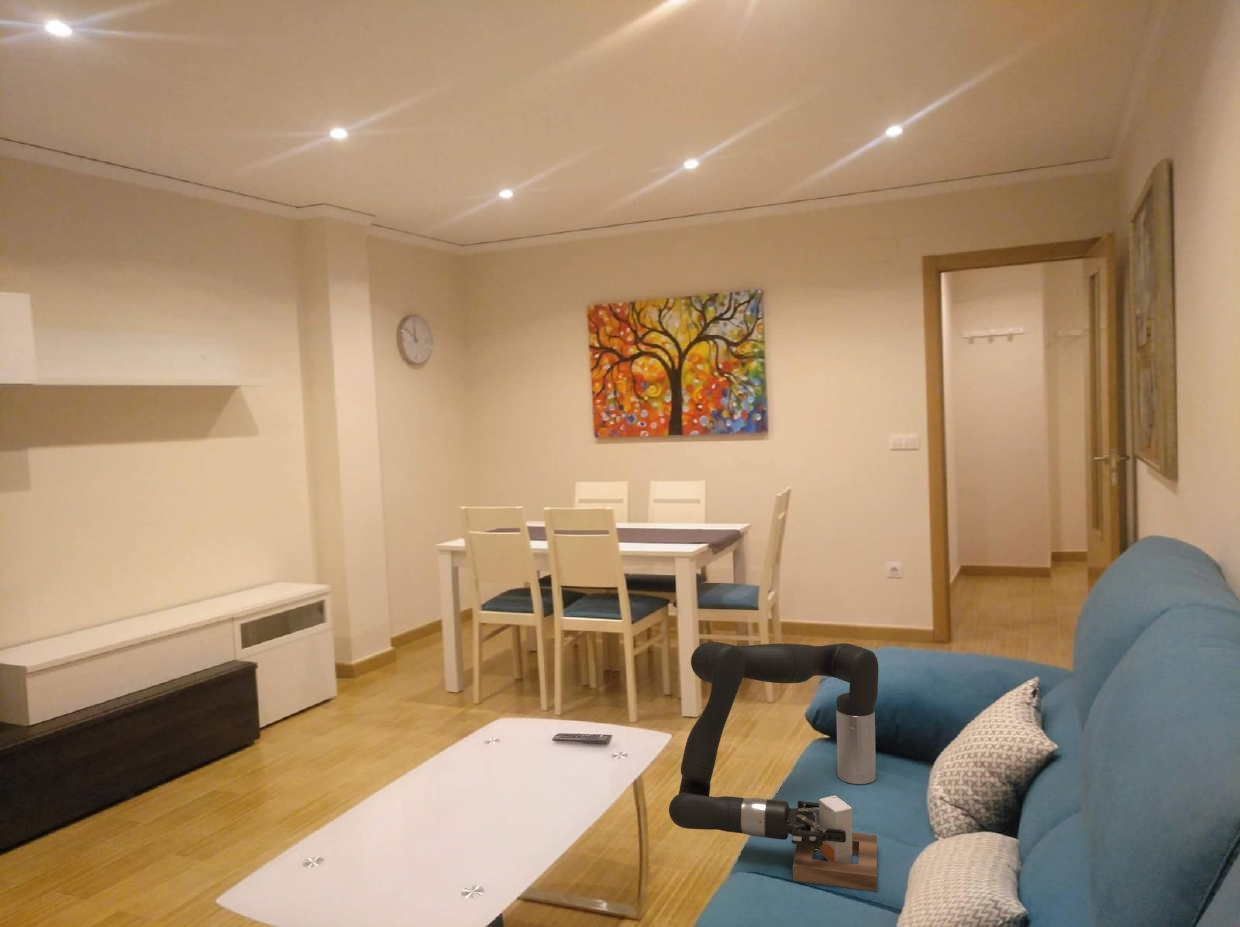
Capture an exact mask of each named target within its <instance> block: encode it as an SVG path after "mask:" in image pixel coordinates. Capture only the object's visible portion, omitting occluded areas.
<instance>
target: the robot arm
mask: <svg viewBox="0 0 1240 927" xmlns="http://www.w3.org/2000/svg"><path fill="white" fill-rule="evenodd" d="M690 665H691V670H692V671H693V673H694V674H695V676H696V677H697V678H699V679H700V680H702V681H703V682H705V683H709V684H711V689H710V693H709V697H708V701H707V703H706V705H705V707H704V709H703V711H702V712H701V715H700V716H699V718H698V719H697V720H696V722H695V724H694V725H693V726H692V729H691V730H690V732H689V733H688V734H689V735H688V737H687V739H686V743H685V746H684V752H683V756H682V761H681V765H680V775H681V781H680V785H679V790H678V794H677V795H674V797H673V798H672V800H670V803H669V807H668V814H669V816H670V819H671V821H672V822H673V823H674V824H675V825H676V826H678V827H680V828H683V829H689V830H703V831H705V830H706V831H707V830H711V831H712V830H713V831H714V830H715V831H723V832H727V833H736V834H743V835H748V836H750V837H751V836H752V837H757V838H758V837H759V838H765V839H773V840H775V839H776V840H782V841H787V839H788V838H789V835H791V844H793V845H797V844H798V845H808V846H817V847H821V846H822V843H824V842H826V841H834V842H842V843H844V842H846V832H845V831H844V830H835V829H827V831H826V829H825V828H823V827H820V826H819V802H812V801H805V800H804V801H803V800H798V801H797V802H796V803H797V805H796V806H797V807H794V808H793V807H790V804H789V801H786V800H780V799H778V800H777V799H771V798H770V799H769V798H760V797H739V796H738V797H737V796H729V795H727V796H726V795H725V796H710V793H711V782H712V777H713V775H714V774H713V772H714V769H715V764H716V761H717V756H718V752H719V751H718V750H719V746H720V743H721V740H722V739H721V738H722V736H723V732H724V728H725V726H726V723H727V721H728V718H729V716H730V712H731V711H732V710H731V709H732V708H733V705H734V702H735V699H736V696H737V694H738V691H739V689H740V686H741V684H742V681H743V679H749V680H754V681H760V682H765V683H766V682H767V683H771V684H772V683H773V684H801V683H805V682H807V681H808V680H810V679H811V678H813V677H815V676H821V677H829V678H835V679H838V680H840V681H843V682H846V683H848V684H849V691H848V692H846V693H842V694H840V695H838V696H837V698H836V701H835V707H836V708H835V709H836V711H835V712H836V713H835V714H836V749H837V750H836V751H837V752H836V754H837V757H836V758H837V765H836V766H837V768H836V769H837V778H839V779H840V780H841V781H843V782H845V783H848V784H851V785H852V784H854V785H867V784H871V783H873V782H874V781H875V780H876V778H877V777H876V772H877V771H876V769H877V768H876V717H875V716H876V714H875V712H876V711H875V708H876V704H877V703H876V702H877V699H878V696H879V695H878V693H879V671H880V670H879V660H878V657H877V656H876V653H875V652H874V651H872V650H870V649H868V648H865V647H861V646H858V645H855V644H851V643H846V642H845V643H843V642H842V643H834V644H826V645H811V644H802V643H781V642H780V643H762V644H761V643H760V644H750V645H736V644H735V645H734V644H730V643H726V642H725V643H724V642H719V641H715V640H714V641H706V642H703V643H702V644H700V645H699V646H697V647H696V648H695V649H694V651H693V652H692V655H691V658H690ZM817 831H818V832H817ZM815 839H816V841H811V840H815Z"/></svg>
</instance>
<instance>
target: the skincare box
mask: <svg viewBox="0 0 1240 927" xmlns="http://www.w3.org/2000/svg"><path fill="white" fill-rule="evenodd" d="M818 803H819V808H818V809H819V825H818V826H820V827H823V828H825V829H826V831H827V829H835V830H844V831H845V832H846V842H844V843H842V842H834V841H826V842H824V843H822V846H821V847H819V851H818V852H819V854H820V855H821V856H822V857H823V858H824V859H826V861H832V862H841V863H849V864H853V855H852V832H853V808H852V807H851V806H850V805H849V804H848V803H846V802H845V801H844V800H843V799H841V798H839V797H838V796H837V795H830V796H827V797H822V798H819V800H818Z"/></svg>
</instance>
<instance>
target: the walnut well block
mask: <svg viewBox="0 0 1240 927" xmlns="http://www.w3.org/2000/svg"><path fill="white" fill-rule="evenodd" d="M817 832H818V831H817ZM811 841H816V839H815V840H811ZM795 845H796V847H795V852H794V858H793V864H792V881H793V882H800V883H809V884H817V885H826V886H831V887H841V888H848V889H856V890H865V891H873V892H878V835H877V834H872V833H861V832H853V831H852V854H853V855H854V856H858V863H852V864H849V863H841V862H832V861H828V860H824V859H823V860H822V859H815V857H816V850H815V849H818V850H819V847H817V846H808V845H798V844H795ZM853 855H852V856H853ZM814 856H815V857H814Z"/></svg>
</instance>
